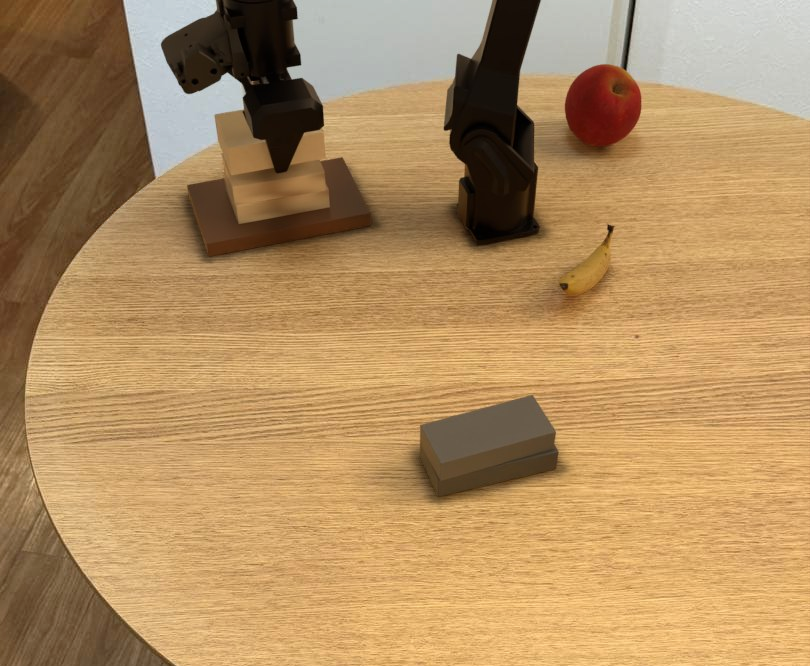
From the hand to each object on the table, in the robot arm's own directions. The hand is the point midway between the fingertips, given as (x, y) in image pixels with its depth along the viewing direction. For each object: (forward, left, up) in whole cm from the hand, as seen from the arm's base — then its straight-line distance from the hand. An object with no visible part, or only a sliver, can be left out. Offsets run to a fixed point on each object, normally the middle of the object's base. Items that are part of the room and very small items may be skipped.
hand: (273, 153), depth 109 cm
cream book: (0, 0, 0) cm, 0 cm away
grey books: (-8, +38, -6) cm, 39 cm away
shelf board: (0, 0, -6) cm, 6 cm away
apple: (-35, -2, -7) cm, 36 cm away
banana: (-24, +20, -7) cm, 32 cm away
